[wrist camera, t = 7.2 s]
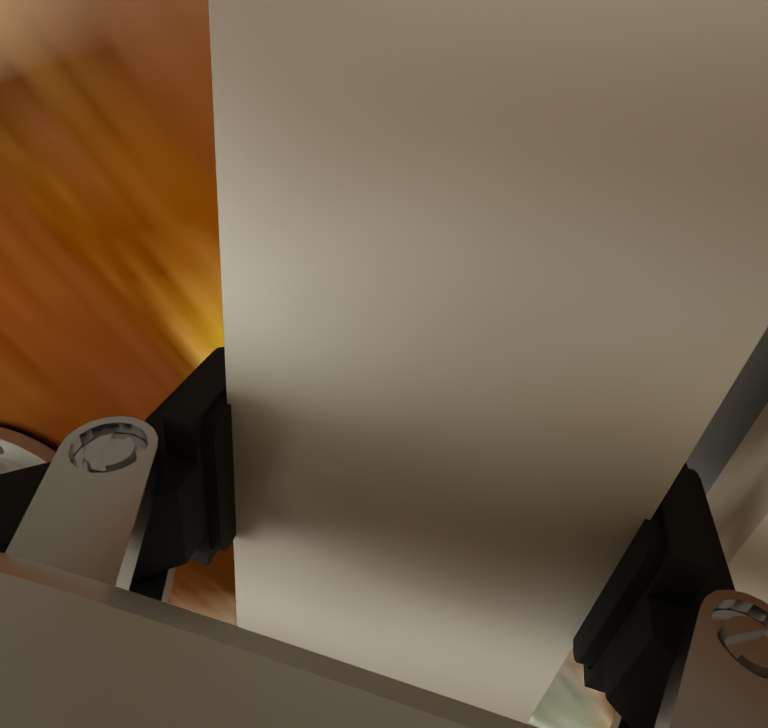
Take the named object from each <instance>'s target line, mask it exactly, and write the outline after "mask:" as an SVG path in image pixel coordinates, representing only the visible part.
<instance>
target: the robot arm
mask: <svg viewBox="0 0 768 728" xmlns="http://www.w3.org/2000/svg"><path fill="white" fill-rule="evenodd" d="M235 536H236V512H235V488H234V463H233V439H232V414H231V404H227V392H226V370H225V349H224V347H220V348H217V349H216V350H214V351H213V352H212V353H211V354H210V355H209V356H208V357H207V358H206V359H205V360H204V361H203V362H202V363H201V364H200V365H199V366H198V367H197V368H196V369H195V370H194V371H193V372H192V373H191V374H190V375H189V376H188V377H187V378H186V379H185V380H184V381H183V382H182V383H181V384H180V385H179V386H178V387H177V388H176V389H175V391H174V392H173V393H172V394H171V395H170V396H169V397H168V398H167V399H166V400H165V401H164V402H163V403H162V404H161V405H160V406H159V407H158V408H157V409H156V410H155V411H154V412H153V413H152V414H151V415H150V416H149V417H148V418H147V419H146V420H145V421H142V420H139V419H136V418H131V417H123V416H119V417H106V418H103V419H99V420H95V421H91V422H89V423H87V424H85V425H83V426H81V427H79V428H77V429H76V430H74V431H73V432H72V433H70V434H69V435H68V436H67V437H66V438H65V439H64V441H63V442H62V443H61V445H60V446H59V448H58V450H57V452H56V451H54V450H53V449H51V448H49V447H48V446H46V445H44V444H43V443H41V442H39V441H37V440H35V439H33V438H30V437H28V436H26V435H24V434H22V433H19V432H16V431H13V430H10V429H7V428H3V427H0V728H537V727H534V726H531V725H529V724H526V723H523V722H520V721H517V720H514V719H511V718H508V717H505V716H502V715H499V714H496V713H493V712H490V711H488V710H485V709H482V708H479V707H476V706H473V705H470V704H467V703H464V702H461V701H458V700H455V699H452V698H449V697H446V696H443V695H440V694H437V693H434V692H431V691H428V690H425V689H422V688H420V687H417V686H414V685H411V684H408V683H405V682H402V681H399V680H396V679H393V678H390V677H387V676H384V675H381V674H378V673H375V672H372V671H369V670H366V669H363V668H360V667H357V666H354V665H351V664H348V663H345V662H342V661H339V660H336V659H333V658H330V657H327V656H324V655H321V654H318V653H315V652H312V651H309V650H306V649H303V648H300V647H297V646H294V645H291V644H288V643H285V642H282V641H279V640H276V639H273V638H271V637H268V636H265V635H261V634H258V633H255V632H252V631H249V630H246V629H243V628H240V627H237V626H234V625H231V624H228V623H225V622H222V621H219V620H216V619H213V618H210V617H207V616H204V615H201V614H198V613H195V612H192V611H189V610H186V609H183V608H180V607H177V606H174V605H171V604H169V599H170V594H171V589H172V585H173V580H174V575H175V570H176V567H177V566H180V565H182V564H185V563H187V562H188V560H189V559H191V560H194V561H197V562H200V563H203V564H206V565H209V563H210V561H211V560H212V558H213V557H214V555H215V553H216V552H217V550H218V549H220V550H223V551H224V550H226V549H227V548H228V547H229V546H230V544H231V543H232V541H233V540H234V538H235ZM573 653H574V659H575V661H576V662H577V663H581V664H584V681H585V686H586V687H589V688H592V689H595V690H598V691H601V692H604V693H606V699H607V700H608V701H609V703H610V704H611V705H612V706H613V708H614V709H615V710H616V712H615V715H614V718H613V721H612V724H611V727H610V728H768V604H767V603H766V602H764V601H763V600H760V599H758V598H756V597H754V596H751V595H749V594H747V593H744V592H739V591H735V588H734V584H733V581H732V578H731V575H730V571H729V568H728V565H727V562H726V559H725V555H724V552H723V549H722V546H721V542H720V539H719V536H718V533H717V530H716V526H715V523H714V520H713V517H712V513H711V510H710V507H709V504H708V501H707V497H706V494H705V491H704V488H703V484H702V481H701V478H700V476H699V474H698V473H697V472H696V471H695V470H693V469H690V468H688V466H687V463H686V462H685V464H684V465H683V467H682V469H681V470H680V472H679V474H678V475H677V477H676V479H675V480H674V482H673V484H672V485H671V487H670V488H669V490H668V492H667V493H666V495H665V497H664V498H663V500H662V502H661V503H660V505H659V507H658V508H657V510H656V512H655V513H654V515H653V516H652V518H651V520H648V519H645V520H644V521H643V523H642V525H641V526H640V528H639V530H638V531H637V533H636V535H635V536H634V538H633V540H632V541H631V543H630V545H629V546H628V548H627V550H626V551H625V553H624V555H623V556H622V558H621V560H620V562H619V563H618V565H617V567H616V568H615V570H614V572H613V573H612V575H611V577H610V578H609V580H608V582H607V583H606V585H605V587H604V588H603V590H602V592H601V593H600V595H599V597H598V598H597V600H596V602H595V603H594V605H593V607H592V608H591V610H590V612H589V613H588V615H587V617H586V618H585V620H584V622H583V623H582V625H581V627H580V628H579V630H578V632H577V633H576V635H575V637H574V638H573Z"/></svg>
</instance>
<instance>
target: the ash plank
mask: <svg viewBox="0 0 768 728" xmlns="http://www.w3.org/2000/svg"><path fill="white" fill-rule="evenodd" d="M208 1H209V22H210V44H211V66H212V88H213V109H214V131H215V153H216V175H217V196H218V218H219V240H220V262H221V283H222V305H223V327H224V349H225V370H226V392H227V404H231V414H232V439H233V463H234V488H235V512H236V536H235V538H234V540H233V544H234V566H235V588H236V610H237V627H240V628H243V629H246V630H249V631H252V632H255V633H258V634H261V635H265V636H268V637H271V638H273V639H276V640H279V641H282V642H285V643H288V644H291V645H294V646H297V647H300V648H303V649H306V650H309V651H312V652H315V653H318V654H321V655H324V656H327V657H330V658H333V659H336V660H339V661H342V662H345V663H348V664H351V665H354V666H357V667H360V668H363V669H366V670H369V671H372V672H375V673H378V674H381V675H384V676H387V677H390V678H393V679H396V680H399V681H402V682H405V683H408V684H411V685H414V686H417V687H420V688H422V689H425V690H428V691H431V692H434V693H437V694H440V695H443V696H446V697H449V698H452V699H455V700H458V701H461V702H464V703H467V704H470V705H473V706H476V707H479V708H482V709H485V710H488V711H490V712H493V713H496V714H499V715H502V716H505V717H508V718H511V719H514V720H517V721H520V722H523V723H526V724H527V722H528V721H529V719H530V717H531V716H532V714H533V713H534V711H535V709H536V708H537V706H538V704H539V703H540V701H541V699H542V698H543V696H544V694H545V693H546V691H547V689H548V688H549V686H550V685H551V683H552V681H553V680H554V678H555V676H556V675H557V673H558V671H559V670H560V668H561V666H562V665H563V663H564V661H565V660H566V658H567V657H568V655H569V653H570V652H571V650H572V648H573V638H574V637H575V635H576V633H577V632H578V630H579V628H580V627H581V625H582V623H583V622H584V620H585V618H586V617H587V615H588V613H589V612H590V610H591V608H592V607H593V605H594V603H595V602H596V600H597V598H598V597H599V595H600V593H601V592H602V590H603V588H604V587H605V585H606V583H607V582H608V580H609V578H610V577H611V575H612V573H613V572H614V570H615V568H616V567H617V565H618V563H619V562H620V560H621V558H622V556H623V555H624V553H625V551H626V550H627V548H628V546H629V545H630V543H631V541H632V540H633V538H634V536H635V535H636V533H637V531H638V530H639V528H640V526H641V525H642V523H643V521H644V520H645V519H648V520H651V518H652V516H653V515H654V513H655V512H656V510H657V508H658V507H659V505H660V503H661V502H662V500H663V498H664V497H665V495H666V493H667V492H668V490H669V488H670V487H671V485H672V484H673V482H674V480H675V479H676V477H677V475H678V474H679V472H680V470H681V469H682V467H683V465H684V464H685V462H686V460H687V459H688V457H689V455H690V454H691V452H692V451H693V449H694V447H695V446H696V444H697V442H698V441H699V439H700V437H701V436H702V434H703V432H704V431H705V429H706V427H707V426H708V424H709V423H710V421H711V419H712V418H713V416H714V414H715V413H716V411H717V409H718V408H719V406H720V404H721V403H722V401H723V399H724V398H725V396H726V395H727V393H728V391H729V390H730V388H731V386H732V385H733V383H734V381H735V380H736V378H737V376H738V375H739V373H740V371H741V370H742V368H743V367H744V365H745V363H746V362H747V360H748V358H749V357H750V355H751V353H752V352H753V350H754V348H755V347H756V345H757V343H758V342H759V340H760V339H761V337H762V335H763V334H764V332H765V330H766V329H767V327H768V0H208Z"/></svg>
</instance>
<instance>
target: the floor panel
mask: <svg viewBox="0 0 768 728" xmlns="http://www.w3.org/2000/svg"><path fill="white" fill-rule="evenodd" d="M767 403H768V327H767V329H766V330H765V332H764V334H763V335H762V337H761V339H760V340H759V342H758V343H757V345H756V347H755V348H754V350H753V352H752V353H751V355H750V357H749V358H748V360H747V362H746V363H745V365H744V367H743V368H742V370H741V371H740V373H739V375H738V376H737V378H736V380H735V381H734V383H733V385H732V386H731V388H730V390H729V391H728V393H727V395H726V396H725V398H724V399H723V401H722V403H721V404H720V406H719V408H718V409H717V411H716V413H715V414H714V416H713V418H712V419H711V421H710V423H709V424H708V426H707V427H706V429H705V431H704V432H703V434H702V436H701V437H700V439H699V441H698V442H697V444H696V446H695V447H694V449H693V451H692V452H691V454H690V455H689V457H688V459H687V460H686V463H687V466H688V468H690V469H693V470H695V471H696V472H697V473H698V474H699V476H700V478H701V481H702V484H703V488H704V491H705V494H706V495H707V493H708V492H709V490H710V489H711V487H712V486H713V484H714V483H715V481H716V480H717V478H718V477H719V475H720V474H721V472H722V471H723V469H724V468H725V466H726V464H727V463H728V461H729V460H730V458H731V457H732V455H733V454H734V452H735V451H736V449H737V448H738V446H739V445H740V443H741V442H742V440H743V439H744V437H745V436H746V434H747V433H748V431H749V430H750V428H751V427H752V425H753V424H754V422H755V421H756V419H757V418H758V416H759V415H760V413H761V412H762V410H763V409H764V407H765V406H766V404H767Z"/></svg>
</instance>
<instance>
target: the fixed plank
mask: <svg viewBox="0 0 768 728" xmlns="http://www.w3.org/2000/svg"><path fill="white" fill-rule="evenodd" d="M706 497H707V501H708V504H709V507H710V510H711V513H712V517H713V520H714V523H715V526H716V530H717V533H718V536H719V539H720V542H721V546H722V549H723V552H724V555H725V559H726V562H727V565H728V568H729V571H730V575H731V578H732V581H733V584H734V588H735V591H739V592H744V593H747V594H749V595H751V596H754V597H756V598H758V599H760V600H763V601H764V602H766V603H767V604H768V403H767V404H766V406H765V407H764V409H763V410H762V412H761V413H760V415H759V416H758V418H757V419H756V421H755V422H754V424H753V425H752V427H751V428H750V430H749V431H748V433H747V434H746V436H745V437H744V439H743V440H742V442H741V443H740V445H739V446H738V448H737V449H736V451H735V452H734V454H733V455H732V457H731V458H730V460H729V461H728V463H727V464H726V466H725V468H724V469H723V471H722V472H721V474H720V475H719V477H718V478H717V480H716V481H715V483H714V484H713V486H712V487H711V489H710V490H709V492H708V493H707V495H706Z"/></svg>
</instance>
